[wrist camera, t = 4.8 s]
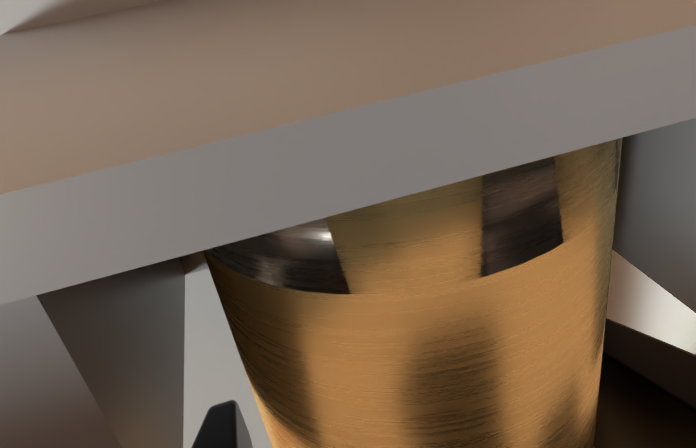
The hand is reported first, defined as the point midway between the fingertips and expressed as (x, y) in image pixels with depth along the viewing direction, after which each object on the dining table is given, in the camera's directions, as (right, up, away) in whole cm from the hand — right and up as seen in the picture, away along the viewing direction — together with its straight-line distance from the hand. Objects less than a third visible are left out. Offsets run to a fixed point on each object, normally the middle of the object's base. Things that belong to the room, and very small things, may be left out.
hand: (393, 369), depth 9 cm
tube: (0, -2, +1) cm, 2 cm away
